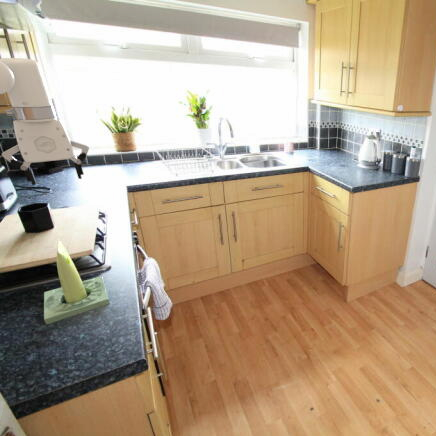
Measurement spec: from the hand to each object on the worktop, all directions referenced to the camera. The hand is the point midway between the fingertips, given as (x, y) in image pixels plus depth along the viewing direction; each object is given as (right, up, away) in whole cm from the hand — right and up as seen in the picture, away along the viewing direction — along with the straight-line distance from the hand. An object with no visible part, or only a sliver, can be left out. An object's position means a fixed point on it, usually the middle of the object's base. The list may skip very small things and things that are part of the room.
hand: (57, 180), depth 85 cm
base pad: (+1, -35, +6) cm, 35 cm away
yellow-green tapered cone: (+1, -35, +6) cm, 36 cm away
